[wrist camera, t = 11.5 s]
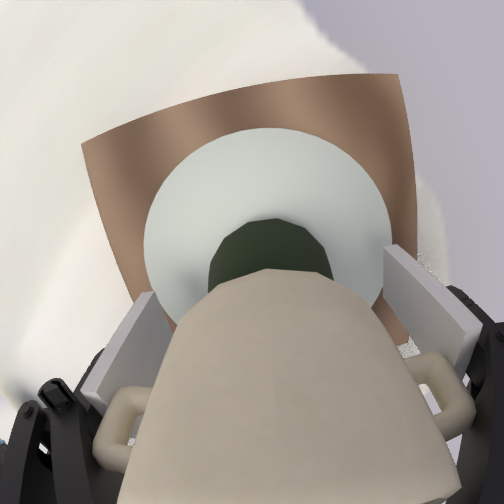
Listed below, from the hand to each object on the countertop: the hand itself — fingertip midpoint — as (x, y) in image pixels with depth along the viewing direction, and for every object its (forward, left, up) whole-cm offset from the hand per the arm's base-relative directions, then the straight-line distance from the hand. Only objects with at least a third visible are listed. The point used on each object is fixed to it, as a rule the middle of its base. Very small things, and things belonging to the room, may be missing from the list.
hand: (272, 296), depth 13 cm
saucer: (0, 0, -4) cm, 4 cm away
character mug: (0, 0, -3) cm, 3 cm away
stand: (0, 0, -6) cm, 6 cm away
